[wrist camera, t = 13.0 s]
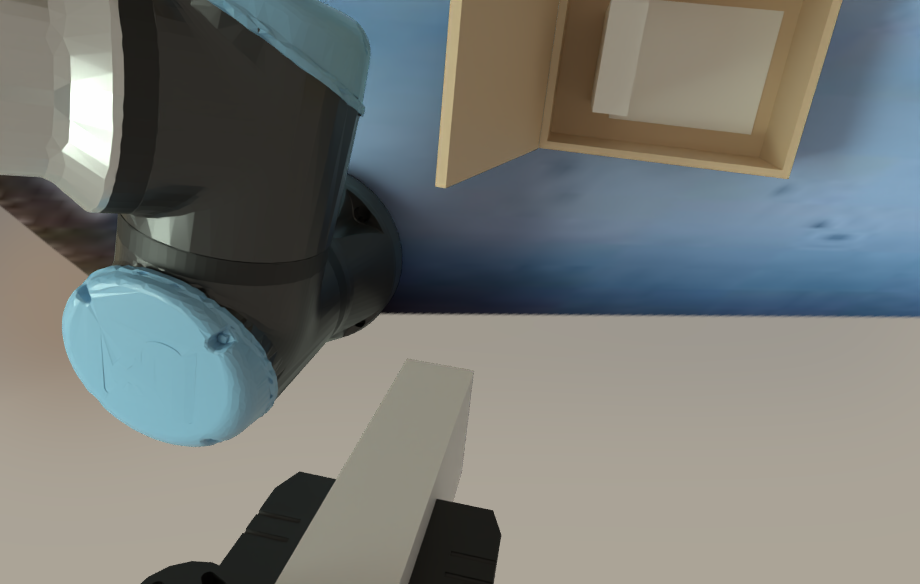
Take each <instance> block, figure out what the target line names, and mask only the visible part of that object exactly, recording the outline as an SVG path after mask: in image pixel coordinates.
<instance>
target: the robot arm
mask: <svg viewBox="0 0 920 584" xmlns="http://www.w3.org/2000/svg"><path fill="white" fill-rule="evenodd" d="M370 56H371V54H370V44H369V40H368V38H367V35H366V34H365V32H364V30H363V29H362V27H361V26H360V25H359V24H358V23H357V22H356V21H355V20H354V19H353V18H351V17H350V16H348V15H346V14H344V13H342V12H340V11H338V10H336V9H334V8H332V7H330V6H328V5H326V4H324V3H322V2H320V1H318V0H0V175H15V176H31V177H42V178H45V179H47V180H49V181H51V182H53V183H54V184H55V185H56V186H58V187H59V188H60V189H61V190H62V191H63V192H65V193H66V194H67V195H68V196H69V197H70V198H71V199H73V200H74V201H75V202H76V203H77V204H78V205H80V206H81V207H82V208H83V209H84V210H85V211H88V212H92V213H118V221H117V234H116V246H115V259H114V262H113V265H112V266H109V267H107V268H104V269H100V270H97V271H95V272H94V273H92V274H90V275H89V277H88V278H87V279H86V281H84V282H83V284H82V285H81V286H79V287H78V288H77V289H76V290H75V291H74V292H73V293H72V295H71V296H70V298H69V299H68V302H67V304H66V307H65V309H64V313H63V318H62V334H63V340H64V345H65V349H66V352H67V354H68V357H69V360H70V362H71V364H72V366H73V368H74V370H75V372H76V374H77V376H78V377H79V378H80V380H81V381H82V383H83V384H84V386H85V387H86V388H87V390H88V391H89V392H90V393H92V394H93V395H94V396H95V397H96V398H97V399H98V400H99V402H100V403H101V404H102V406H103V407H104V408H105V409H106V410H108V412H110V413H111V414H112V415H113V416H115V417H116V418H118V419H119V420H120V421H121V422H123V423H125V424H126V425H128V426H129V427H131V428H132V429H134V430H136V431H138V432H140V433H142V434H144V435H146V436H149V437H151V438H154V439H156V440H159V441H162V442H166V443H170V444H174V445H181V446H189V447H190V446H191V447H201V446H210V445H214V444H216V443H218V442H222V441H224V440H229V439H231V438H233V437H235V436H237V435H238V434H240V433H241V432H242V431H244V430H245V429H246V428H247V427H248V426H249V425H250V424H252V423H253V422H254V421H256V420H257V419H258V418H259V417H262V416H263V415H264V414H265V413H267V411H269V410H270V408H271V407H272V406H273V404H274V401H275V400H276V399H277V397H278V396H279V395H280V394H281V393H282V392H283V391H284V390H285V388H286V387H287V386H288V385H289V384H290V383H291V382H292V381H293V379H294V378H295V377H296V376H297V375H298V374H299V373H300V371H301V370H302V369H303V368H304V367H305V366H306V364H308V362H309V361H310V360H311V359H312V358H313V357H314V356H315V354H316V353H317V352H318V351H319V350H320V349H321V347H322V346H323V345H324V344H325V343H326V342H328V341H332V340H335V339H338V338H342V337H345V336H348V335H351V334H353V333H355V332H357V331H359V330H361V329H362V328H364V327H366V326H367V325H368V324H370V323H371V322H372V321H373V320H374V319H375V318H376V317H377V316H378V315H379V314H380V313H381V312H382V310H383V309H384V308H385V307H386V305H387V304H388V303H389V301H390V300H391V298H392V297H393V295H394V293H395V291H396V288H397V286H398V283H399V279H400V275H401V269H402V250H401V244H400V239H399V235H398V232H397V229H396V226H395V224H394V222H393V220H392V218H391V216H390V214H389V212H388V211H387V209H386V208H385V206H384V205H383V203H382V202H381V201H380V200H379V199H378V197H377V196H376V195H375V194H374V193H373V192H372V191H371V190H370V189H369V188H367V187H366V186H365V185H364V184H362V183H361V182H360V181H358V180H357V179H355V178H353V177H352V176H350V175H348V174H347V171H348V166H349V162H350V157H351V153H352V148H353V144H354V139H355V135H356V130H357V126H358V121H359V117H360V116H361V117H363V116H364V112H365V107H364V105H363V97H364V91H365V86H366V80H367V75H368V69H369V63H370ZM473 374H474V371H473V370H468V369H462V368H456V367H451V366H445V365H440V364H434V363H428V362H422V361H417V360H412V359H407V360H406V362H405V363H404V365H403V367H402V369H401V370H400V372H399V374H398V376H397V377H396V379H395V380H394V382H393V384H392V385H391V387H390V389H389V391H388V393H387V394H386V396H385V398H384V399H383V401H382V403H381V404H380V406H379V408H378V409H377V411H376V413H375V414H374V416H373V418H372V420H371V421H370V423H369V425H368V426H367V428H366V430H365V431H364V433H363V435H362V436H361V438H360V440H359V442H358V443H357V445H356V447H355V448H354V450H353V452H352V454H351V455H350V457H349V459H348V460H347V462H346V464H345V466H344V467H343V469H342V471H341V472H340V474H339V476H338V478H337V479H332V478H327V477H323V476H318V475H313V474H308V473H304V472H298V473H297V474H295V475H294V476H292V477H291V478H289V479H288V480H286V481H285V482H283V483H282V484H280V485H279V486H277V487H276V488H275V489H274V490H273V492H272V493H271V494H270V496H269V497H268V499H267V500H266V501H265V503H264V504H263V506H262V507H261V509H260V510H259V514H258V515H257V514H256V516H255V517H254V518H253V520H252V521H251V522H250V524H249V525H248V527H247V528H246V532H245V533H242V535H241V536H240V538H239V539H238V540H237V542H236V543H235V545H234V546H233V547H232V549H231V550H230V551H229V553H228V554H227V556H226V557H225V558H224V560H223V561H222V563H221V564H220V565H217V564H214V563H211V562H196V561H191V562H187V563H182V564H177V565H173V566H169V567H167V568H165V569H163V570H161V571H159V572H157V573H155V574H153V575H151V576H149V577H148V578H146V579H145V580H144V581H143V582H142V583H141V584H494V578H495V571H496V565H497V558H498V552H499V546H500V539H501V533H500V530H499V527H498V524H497V521H496V518H495V515H494V512H493V510H488V509H483V508H479V507H473V506H469V505H464V504H460V503H455V502H453V500H454V497H455V493H456V490H457V486H458V483H459V480H460V477H461V473H462V466H463V457H464V449H465V441H466V432H467V424H468V416H469V407H470V399H471V391H472V390H471V389H472V382H473Z"/></svg>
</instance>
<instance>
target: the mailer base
mask: <svg viewBox="0 0 920 584" xmlns="http://www.w3.org/2000/svg"><path fill="white" fill-rule="evenodd" d="M841 3H842V0H560V1H559V8H558V15H557V22H556V29H555V36H554V43H553V50H552V57H551V64H550V71H549V78H548V85H547V92H546V99H545V106H544V113H543V120H542V127H541V134H540V141H539V148H544V149H552V150H560V151H568V152H576V153H584V154H592V155H600V156H608V157H616V158H624V159H632V160H640V161H648V162H656V163H664V164H672V165H680V166H688V167H696V168H704V169H712V170H720V171H728V172H736V173H743V174H751V175H759V176H767V177H775V178H783V179H789V176H790V172H791V169H792V166H793V162H794V159H795V156H796V152H797V149H798V146H799V143H800V139H801V136H802V133H803V129H804V126H805V123H806V119H807V116H808V113H809V109H810V106H811V103H812V100H813V96H814V93H815V90H816V86H817V83H818V80H819V76H820V73H821V70H822V66H823V63H824V60H825V56H826V53H827V50H828V47H829V43H830V40H831V37H832V33H833V30H834V27H835V23H836V20H837V17H838V13H839V10H840V7H841Z"/></svg>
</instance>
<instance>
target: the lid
mask: <svg viewBox="0 0 920 584" xmlns="http://www.w3.org/2000/svg"><path fill="white" fill-rule="evenodd" d="M558 6H559V0H450V10H449V23H448V35H447V47H446V59H445V72H444V84H443V96H442V108H441V120H440V133H439V145H438V157H437V169H436V181H435V187H441V188H448V187H450V186H452V185H455V184H457V183H459V182H462V181H464V180H466V179H469V178H471V177H473V176H476V175H478V174H480V173H482V172H485V171H487V170H489V169H492V168H494V167H496V166H499V165H501V164H503V163H506V162H508V161H510V160H513V159H515V158H517V157H520V156H522V155H524V154H527V153H529V152H531V151H534V150H536V149H538V146H539V139H540V132H541V125H542V118H543V111H544V104H545V97H546V90H547V83H548V76H549V69H550V62H551V55H552V48H553V41H554V34H555V27H556V20H557V13H558Z"/></svg>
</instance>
